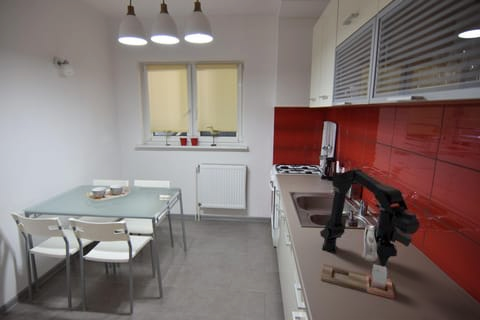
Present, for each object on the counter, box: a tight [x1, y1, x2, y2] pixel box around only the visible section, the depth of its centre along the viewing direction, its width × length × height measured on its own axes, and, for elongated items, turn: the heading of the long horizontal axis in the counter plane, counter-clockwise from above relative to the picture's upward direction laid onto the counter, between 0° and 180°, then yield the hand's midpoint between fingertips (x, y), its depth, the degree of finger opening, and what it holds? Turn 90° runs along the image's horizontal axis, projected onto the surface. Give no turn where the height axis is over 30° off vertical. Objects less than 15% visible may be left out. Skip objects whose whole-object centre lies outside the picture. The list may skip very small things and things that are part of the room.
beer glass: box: [362, 224, 378, 263], centre depth 123 cm, size 7×7×15 cm
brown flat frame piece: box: [320, 263, 395, 300], centre depth 108 cm, size 10×26×1 cm, turn 67°
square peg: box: [370, 263, 388, 291], centre depth 104 cm, size 4×4×8 cm
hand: (381, 259), depth 102 cm, fingers open, 9 cm apart
